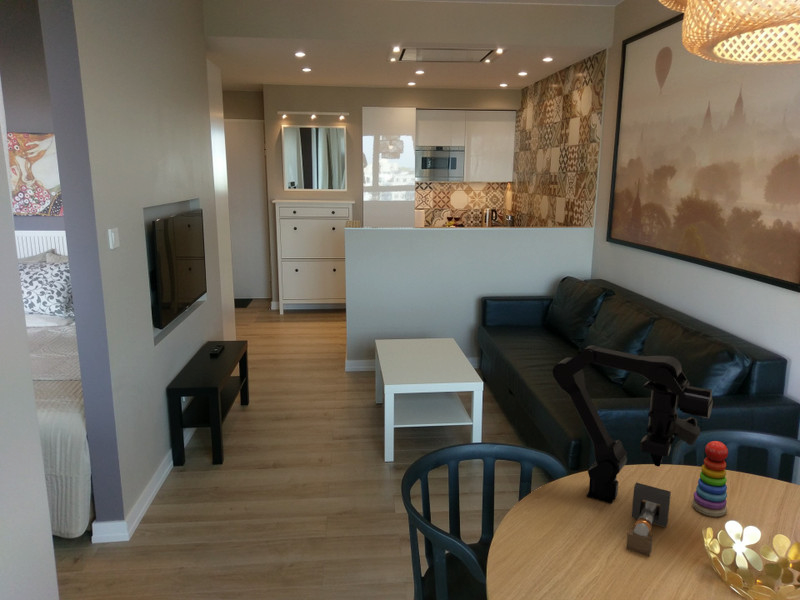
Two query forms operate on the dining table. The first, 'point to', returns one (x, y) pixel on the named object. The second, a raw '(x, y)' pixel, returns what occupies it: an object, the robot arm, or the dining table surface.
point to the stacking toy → (712, 482)
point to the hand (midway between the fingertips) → (657, 465)
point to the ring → (652, 496)
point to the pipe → (643, 529)
